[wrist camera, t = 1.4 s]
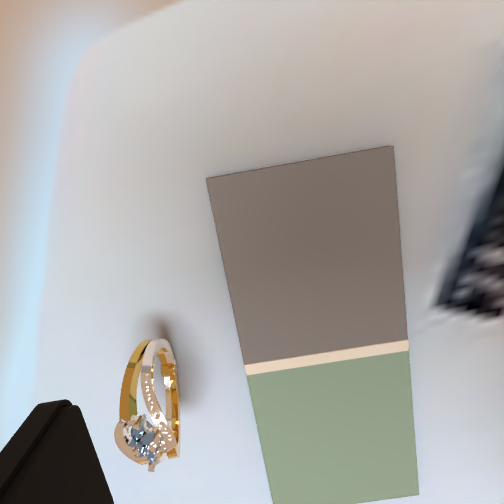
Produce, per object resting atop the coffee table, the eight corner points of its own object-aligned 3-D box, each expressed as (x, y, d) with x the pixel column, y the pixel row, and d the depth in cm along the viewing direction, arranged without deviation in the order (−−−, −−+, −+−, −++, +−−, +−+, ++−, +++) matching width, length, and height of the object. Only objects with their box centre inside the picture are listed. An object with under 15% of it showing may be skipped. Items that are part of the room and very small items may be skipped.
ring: (199, 404, 30) (182, 500, 23) (155, 407, 30) (123, 504, 23) (187, 315, 28) (163, 388, 21) (139, 319, 28) (97, 393, 21)
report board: (390, 145, 25) (394, 146, 24) (416, 488, 33) (419, 496, 32) (206, 178, 25) (205, 179, 25) (274, 507, 33) (275, 515, 32)
